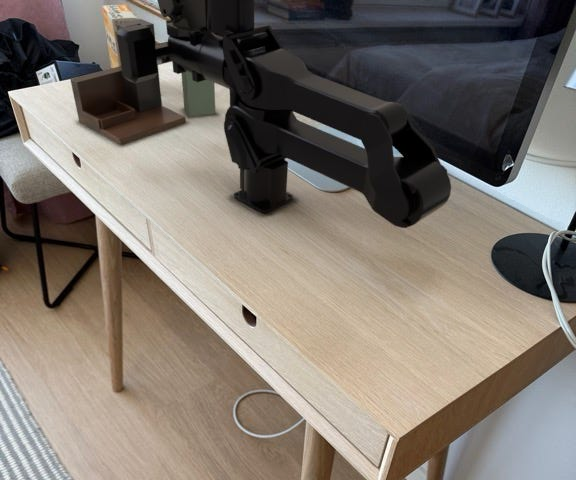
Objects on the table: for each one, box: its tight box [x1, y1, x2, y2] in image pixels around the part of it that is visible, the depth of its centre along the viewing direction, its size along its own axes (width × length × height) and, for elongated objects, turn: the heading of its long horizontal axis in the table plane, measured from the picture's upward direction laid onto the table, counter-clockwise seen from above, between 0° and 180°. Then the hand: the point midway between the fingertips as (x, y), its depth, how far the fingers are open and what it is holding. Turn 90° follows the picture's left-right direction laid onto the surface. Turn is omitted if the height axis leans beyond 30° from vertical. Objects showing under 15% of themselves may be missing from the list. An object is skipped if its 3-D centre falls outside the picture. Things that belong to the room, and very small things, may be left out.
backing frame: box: [69, 18, 187, 146], centre depth 95 cm, size 12×14×14 cm
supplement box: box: [101, 4, 139, 69], centre depth 106 cm, size 8×5×13 cm, turn 25°
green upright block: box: [180, 71, 216, 118], centre depth 100 cm, size 4×5×13 cm
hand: (142, 29), depth 83 cm, fingers open, 9 cm apart
